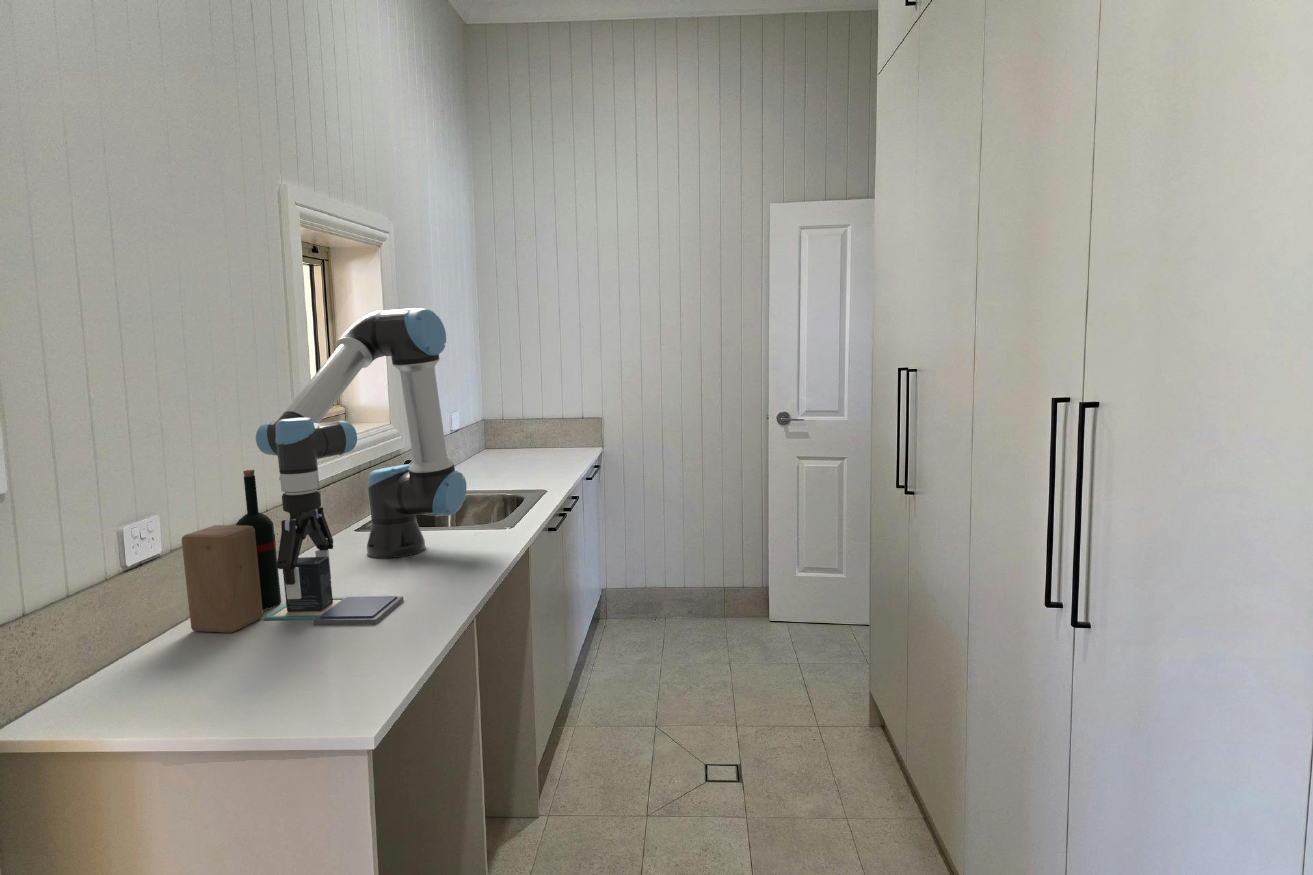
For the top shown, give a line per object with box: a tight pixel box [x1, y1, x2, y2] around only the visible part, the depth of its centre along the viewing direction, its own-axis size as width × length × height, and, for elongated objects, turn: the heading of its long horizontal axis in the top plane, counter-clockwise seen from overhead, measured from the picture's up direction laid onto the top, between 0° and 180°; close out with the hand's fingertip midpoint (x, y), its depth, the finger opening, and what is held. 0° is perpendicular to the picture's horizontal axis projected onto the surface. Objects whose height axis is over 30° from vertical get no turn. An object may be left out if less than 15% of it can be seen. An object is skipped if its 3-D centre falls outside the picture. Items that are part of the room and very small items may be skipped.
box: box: [282, 556, 333, 612], centre depth 183 cm, size 8×6×11 cm
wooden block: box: [181, 524, 264, 634], centre depth 174 cm, size 10×10×20 cm
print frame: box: [263, 596, 345, 621], centre depth 183 cm, size 13×14×1 cm
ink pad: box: [313, 595, 404, 626], centre depth 180 cm, size 15×13×1 cm
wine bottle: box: [235, 469, 282, 611], centre depth 187 cm, size 8×10×30 cm
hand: (310, 588), depth 183 cm, fingers open, 13 cm apart
